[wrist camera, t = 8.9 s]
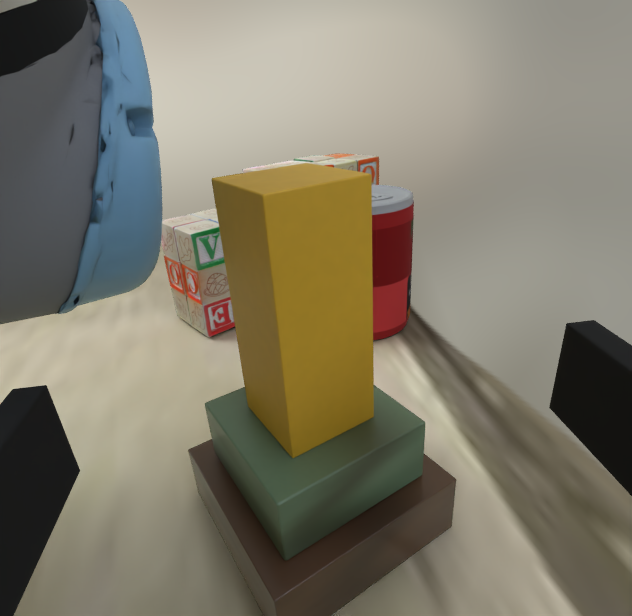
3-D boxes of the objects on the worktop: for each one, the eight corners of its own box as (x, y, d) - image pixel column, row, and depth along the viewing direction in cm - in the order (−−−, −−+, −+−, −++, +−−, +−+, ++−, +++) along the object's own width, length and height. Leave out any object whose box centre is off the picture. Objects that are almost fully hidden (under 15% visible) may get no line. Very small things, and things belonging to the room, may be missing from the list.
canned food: (428, 327, 38) (435, 194, 33) (345, 353, 35) (339, 213, 30) (377, 295, 44) (377, 180, 39) (303, 315, 41) (293, 194, 36)
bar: (292, 459, 17) (262, 194, 13) (247, 406, 20) (210, 178, 16) (374, 417, 19) (372, 173, 15) (321, 374, 22) (306, 162, 18)
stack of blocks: (208, 341, 38) (180, 193, 33) (176, 318, 42) (146, 184, 37) (380, 269, 50) (380, 153, 45) (341, 257, 55) (337, 150, 49)
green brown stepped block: (282, 651, 17) (263, 542, 14) (198, 493, 24) (175, 400, 21) (452, 526, 21) (462, 424, 18) (338, 423, 28) (334, 338, 25)
